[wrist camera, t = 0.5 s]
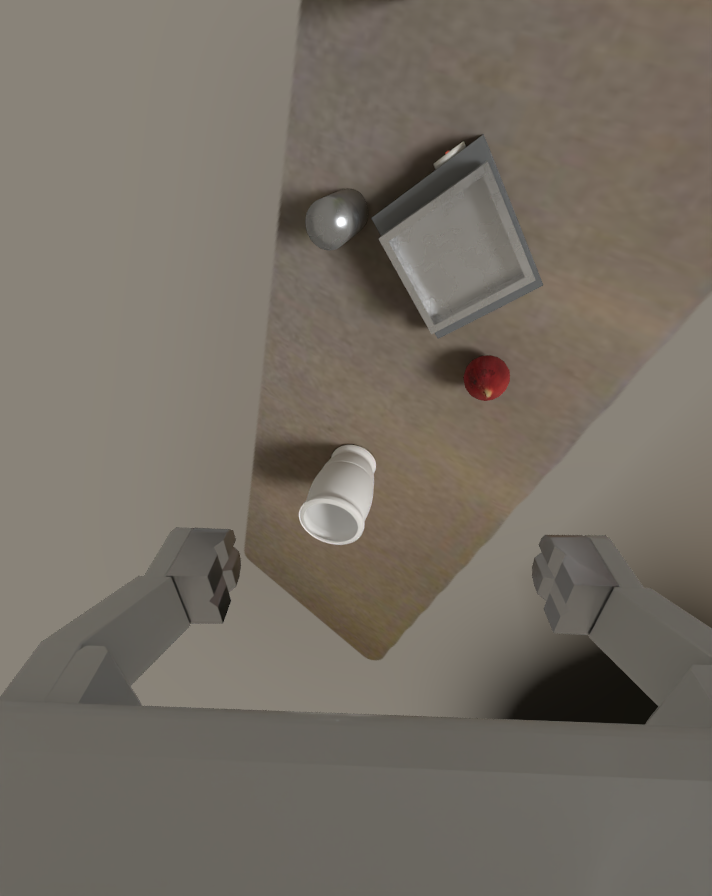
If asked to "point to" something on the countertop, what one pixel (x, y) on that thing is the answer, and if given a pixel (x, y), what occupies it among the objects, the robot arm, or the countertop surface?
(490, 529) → the countertop surface
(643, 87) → the countertop surface
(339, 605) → the countertop surface
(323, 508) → the jar
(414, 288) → the pan
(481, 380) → the onion
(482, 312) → the scale
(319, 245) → the grey cylinder
